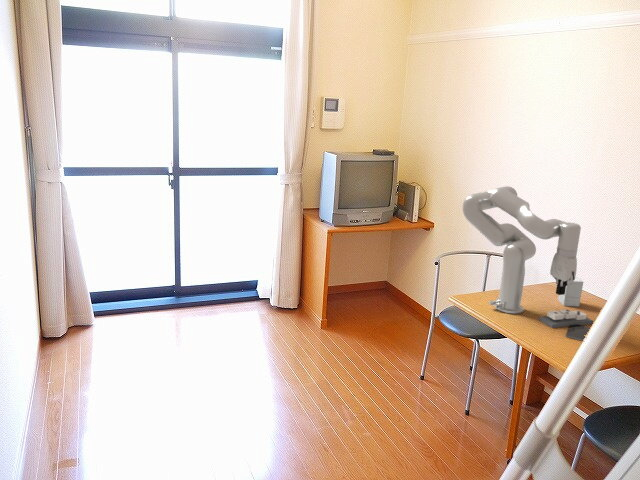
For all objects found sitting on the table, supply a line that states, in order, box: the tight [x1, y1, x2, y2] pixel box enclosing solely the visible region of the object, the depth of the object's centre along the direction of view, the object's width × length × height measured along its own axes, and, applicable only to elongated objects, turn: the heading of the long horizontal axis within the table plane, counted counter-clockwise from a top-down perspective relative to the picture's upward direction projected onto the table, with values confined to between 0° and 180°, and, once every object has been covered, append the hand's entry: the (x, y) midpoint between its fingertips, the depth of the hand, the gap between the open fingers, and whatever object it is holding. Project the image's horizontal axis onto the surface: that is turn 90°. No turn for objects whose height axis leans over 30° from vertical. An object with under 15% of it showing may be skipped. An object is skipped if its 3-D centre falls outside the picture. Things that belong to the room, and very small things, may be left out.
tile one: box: [546, 310, 564, 320], centre depth 214 cm, size 5×5×2 cm
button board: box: [538, 315, 594, 329], centre depth 216 cm, size 21×8×2 cm, turn 105°
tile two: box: [558, 309, 576, 319], centre depth 216 cm, size 5×5×2 cm
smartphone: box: [565, 324, 590, 342], centre depth 207 cm, size 7×1×16 cm
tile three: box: [571, 310, 588, 320], centre depth 217 cm, size 5×5×2 cm
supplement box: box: [557, 276, 584, 308], centre depth 236 cm, size 7×7×13 cm
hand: (560, 293), depth 211 cm, fingers closed
